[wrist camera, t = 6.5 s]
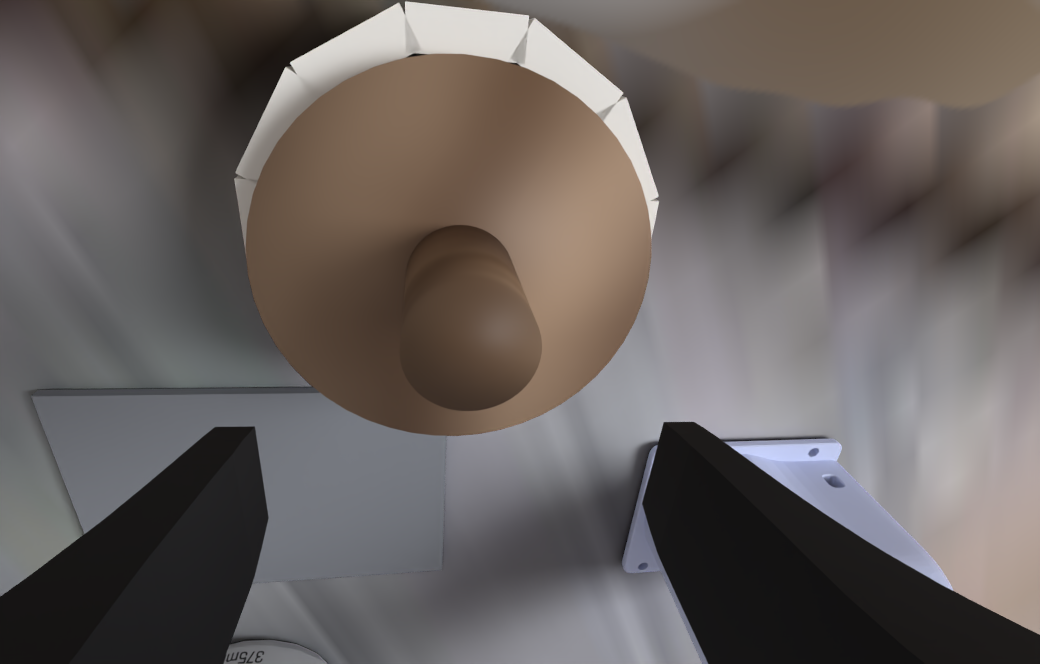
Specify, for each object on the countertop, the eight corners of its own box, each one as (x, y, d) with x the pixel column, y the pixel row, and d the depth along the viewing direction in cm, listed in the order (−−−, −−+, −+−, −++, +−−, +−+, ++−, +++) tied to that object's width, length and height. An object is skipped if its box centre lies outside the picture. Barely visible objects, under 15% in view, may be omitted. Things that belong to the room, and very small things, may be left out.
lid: (689, 104, 14) (810, 130, 10) (586, 427, 18) (636, 545, 14) (255, 2, 12) (150, -26, 7) (257, 402, 16) (194, 535, 12)
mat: (447, 385, 21) (448, 391, 21) (441, 563, 25) (442, 570, 25) (38, 389, 18) (30, 396, 18) (112, 585, 23) (107, 593, 23)
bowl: (641, 37, 16) (693, 34, 13) (588, 352, 21) (617, 405, 18) (253, -6, 14) (204, -22, 11) (294, 352, 19) (269, 411, 16)
